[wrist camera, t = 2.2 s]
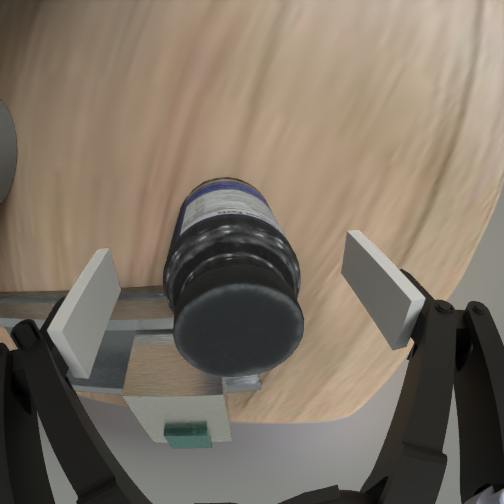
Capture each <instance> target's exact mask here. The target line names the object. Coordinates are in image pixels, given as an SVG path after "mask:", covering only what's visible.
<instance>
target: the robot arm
mask: <svg viewBox="0 0 504 504" xmlns="http://www.w3.org/2000/svg"><path fill="white" fill-rule="evenodd" d="M341 273H342V275H343V276H344V278H345V279H346V280H347V282H348V283H349V285H350V286H351V288H352V289H353V291H354V292H355V293H356V295H357V296H358V298H359V299H360V301H361V302H362V304H363V305H364V307H365V308H366V310H367V311H368V313H369V314H370V316H371V317H372V319H373V320H374V322H375V323H376V325H377V326H378V328H379V329H380V331H381V333H382V334H383V336H384V337H385V339H386V340H387V342H388V343H389V345H390V347H391V348H392V350H396V349H400V348H403V347H406V346H407V344H408V341H409V339H410V337H411V338H412V339H413V341H414V345H413V347H412V349H411V351H410V353H409V355H408V358H407V360H409V363H408V368H407V371H406V376H405V379H404V383H403V386H402V390H401V394H400V397H399V400H398V403H397V407H396V410H395V413H394V416H393V419H392V422H391V425H390V428H389V430H388V433H387V436H386V439H385V441H384V444H383V447H382V449H381V452H380V454H379V456H378V459H377V461H376V464H375V466H374V468H373V470H372V472H371V474H370V476H369V477H368V479H367V480H366V482H365V483H364V485H363V486H362V488H361V490H360V492H357V491H352V490H339V488H338V485H334V486H331V487H327V488H323V489H319V490H314V491H310V492H305V493H302V494H300V495H298V496H295V497H293V498H291V499H288V500H286V501H283V502H281V503H278V504H435V502H436V500H437V496H438V493H439V490H440V487H441V483H442V480H443V476H444V473H445V469H446V465H447V456H446V455H445V454H443V452H442V449H443V444H444V439H445V434H446V429H447V424H448V418H449V412H450V405H451V398H452V389H453V384H454V390H455V398H456V406H457V416H458V426H459V443H460V494H461V503H462V504H504V345H503V343H502V340H501V338H500V335H499V333H498V330H497V328H496V325H495V323H494V321H493V318H492V316H491V314H490V312H489V310H488V308H487V307H486V306H485V305H484V304H482V303H480V302H476V301H471V302H469V303H468V305H467V307H466V309H465V310H455V308H454V307H453V306H452V305H451V304H450V303H448V302H446V301H444V300H434V298H433V297H432V296H431V295H430V294H429V293H428V292H427V291H426V290H425V289H424V288H423V287H422V286H420V284H419V283H418V282H417V281H416V279H415V278H414V277H413V276H412V275H411V274H409V273H408V272H406V271H404V270H403V269H398V268H397V267H396V266H395V265H394V264H393V263H392V262H391V261H390V260H389V259H388V258H387V257H386V256H385V255H384V254H383V253H382V252H381V251H380V250H379V249H378V248H377V247H376V246H375V245H374V244H373V243H372V242H371V241H370V240H369V239H368V238H367V237H366V236H364V235H363V234H362V233H361V232H360V231H359V230H353V231H347V235H346V243H345V250H344V257H343V264H342V270H341ZM120 292H121V288H120V285H119V281H118V278H117V274H116V271H115V267H114V263H113V260H112V256H111V252H110V248H106V249H97V251H96V252H95V254H94V255H93V257H92V258H91V259H90V261H89V262H88V264H87V265H86V267H85V268H84V270H83V271H82V273H81V274H80V276H79V278H78V279H77V281H76V282H75V284H74V285H73V287H72V289H71V290H70V292H69V293H68V295H67V297H62V298H61V299H60V300H59V301H58V302H56V303H55V305H54V307H53V308H52V310H51V312H50V313H49V315H48V317H47V318H46V320H45V322H44V324H43V325H42V327H41V329H40V331H39V329H38V327H37V325H36V323H35V322H34V320H31V319H25V320H22V321H20V322H19V323H17V324H16V325H15V326H14V327H13V329H12V331H11V335H10V336H11V338H12V340H13V341H14V343H15V345H16V346H17V348H18V349H16V350H12V351H9V349H8V348H7V346H6V345H5V344H4V343H0V504H55V501H54V498H53V494H52V491H51V487H50V483H49V479H48V475H47V471H46V467H45V462H44V457H43V452H42V446H41V440H40V434H39V426H38V419H37V412H38V414H39V417H40V420H41V422H42V425H43V427H44V430H45V432H46V435H47V437H48V439H49V442H50V444H51V446H52V448H53V450H54V453H55V455H56V457H57V459H58V461H59V463H60V464H61V467H62V469H63V471H64V472H65V474H66V476H67V478H68V480H69V482H70V483H71V485H72V487H73V489H74V490H75V492H76V494H77V496H78V500H77V501H76V503H77V504H152V503H151V502H150V501H149V500H148V499H147V498H146V496H145V495H144V494H143V493H142V492H141V491H140V489H139V488H138V487H137V486H136V485H135V483H134V482H133V481H132V480H131V478H130V477H129V476H128V475H127V473H126V472H125V471H124V469H123V468H122V466H121V465H120V464H119V462H118V461H117V460H116V458H115V457H114V455H113V454H112V453H111V451H110V449H109V448H108V447H107V445H106V444H105V442H104V440H103V439H102V437H101V436H100V434H99V433H98V431H97V429H96V428H95V426H94V424H93V423H92V421H91V419H90V418H89V416H88V414H87V413H86V411H85V409H84V407H83V405H82V404H81V402H80V400H79V398H78V396H77V394H76V392H75V390H74V388H73V386H72V384H71V382H70V380H69V379H68V377H67V376H66V375H67V372H68V370H70V371H71V373H72V374H73V376H74V377H75V378H86V379H89V377H90V374H91V370H92V367H93V364H94V361H95V358H96V355H97V352H98V349H99V346H100V344H101V341H102V338H103V335H104V333H105V330H106V327H107V324H108V322H109V319H110V317H111V314H112V312H113V309H114V306H115V304H116V301H117V299H118V297H119V294H120ZM195 504H236V503H195Z"/></svg>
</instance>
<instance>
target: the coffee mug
mask: <svg viewBox="0 0 504 504" xmlns="http://www.w3.org/2000/svg"><path fill="white" fill-rule="evenodd" d="M16 162H17V140H16V133H15V127H14V123H13V120H12V117H11V115H10V112H9V111H8V109H7V107H6V106H5V104H4V103H3V102H2V101H1V100H0V204H1V203H2V201H3V200H4V199H5V197H6V196H7V194H8V192H9V190H10V188H11V185H12V182H13V179H14V175H15V170H16Z"/></svg>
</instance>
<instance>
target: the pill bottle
mask: <svg viewBox="0 0 504 504" xmlns="http://www.w3.org/2000/svg"><path fill="white" fill-rule="evenodd" d="M163 273H164V275H163V287H164V294H165V297H166V300H167V303H168V305H169V307H170V309H171V311H172V312H173V314H174V323H173V324H174V326H173V337H174V342H175V345H176V348H177V350H178V351H179V353H180V354H181V356H182V357H183V358H184V359H185V360H186V361H187V362H188V363H190V364H191V365H192V366H193V367H195V368H197V369H199V370H202V371H204V372H205V373H208V374H212V375H215V376H222V377H245V376H252V375H256V374H260V373H262V372H265V371H268V370H270V369H272V368H274V367H276V366H277V365H279V364H281V363H282V362H283V361H285V360H286V359H287V358H288V357H289V356H290V355H292V354H293V352H294V350H295V349H296V348H297V346H298V345H299V343H300V341H301V339H302V336H303V331H304V317H303V314H302V310H301V308H300V305H299V303H298V301H297V297H298V293H299V288H300V282H301V280H300V269H299V263H298V260H297V258H296V255H295V253H294V251H293V250H292V248H291V246H290V244H289V242H288V240H287V238H286V237H285V235H284V233H283V231H282V229H281V228H280V226H279V224H278V222H277V220H276V218H275V216H274V215H273V213H272V211H271V209H270V208H269V206H268V204H267V202H266V200H265V199H264V197H263V196H262V195H261V193H260V192H259V191H258V190H257V189H256V188H254V187H253V186H251V185H250V184H248V183H246V182H244V181H242V180H239V179H234V178H228V177H224V178H216V179H212V180H208V181H205V182H203V183H202V184H200V185H199V186H198V187H196V188H195V189H194V190H193V191H192V192H191V193H190V195H189V196H188V197H187V198H186V199H185V201H184V202H183V204H182V206H181V209H180V212H179V216H178V219H177V223H176V226H175V230H174V233H173V237H172V241H171V245H170V249H169V253H168V257H167V260H166V264H165V267H164V271H163Z"/></svg>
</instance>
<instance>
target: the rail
mask: <svg viewBox="0 0 504 504" xmlns="http://www.w3.org/2000/svg"><path fill="white" fill-rule="evenodd" d="M69 292H70V291H41V292H0V326H5V328H6V330H7V332H8V333H9V335H11V331H12V329H13V327H14V326H15V325H16V324H17V323H19V322H20V321H22V320H25V319H31V320H34V322H35V323H36V325H37V327H38V329H39V331H40V329H41V327H42V325H43V324H44V322H45V320H46V318H47V317H48V315H49V313H50V312H51V310H52V308H53V307H54V305H55V303H56V302H58V301H59V300H60V299H61V298H62V297H67V295H68V293H69ZM173 323H174V314H173V312H172V311H171V309H170V307H169V305H168V303H167V300H166V297H165V294H164V287H163V286H151V287H134V288H121V292H120V294H119V297H118V299H117V301H116V304H115V306H114V309H113V312H112V314H111V317H110V319H109V322H108V324H107V327H106V330H105V333H104V335H103V338H102V341H101V344H100V346H99V349H98V352H97V355H96V358H95V361H94V364H93V367H92V370H91V374H90V377H89V379H86V378H75V377H74V376H73V374H72V373H71V371H70V370H68V372H67V375H66V376H67V377H68V379H69V380H70V382H71V384H72V386H73V388H74V390H75V391H83V392H93V393H105V394H121V395H122V397H123V398H124V400H125V401H126V403H127V404H128V406H129V407H130V409H131V411H132V412H133V413H134V415H135V416H136V418H137V419H138V421H139V422H140V424H141V425H142V426H143V428H144V429H145V431H146V432H147V433H148V435H149V436H150V437H151V439H152V440H153V441H154V442H157V443H169V444H170V446H171V447H172V448H212V442H225V441H232V436H231V427H230V416H229V406H228V396H227V393H233V392H243V391H253V390H261V379H260V374H256V375H252V376H245V377H222V376H215V375H212V374H208V373H205V372H204V371H202V370H199V369H197V368H195V367H193V366H192V365H191V364H190V363H188V362H187V361H186V360H185V359H184V358H183V357H182V356H181V354H180V353H179V351H178V350H177V348H176V345H175V342H174V337H173V326H174V324H173ZM10 337H11V336H10ZM13 342H14V341H13Z"/></svg>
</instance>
